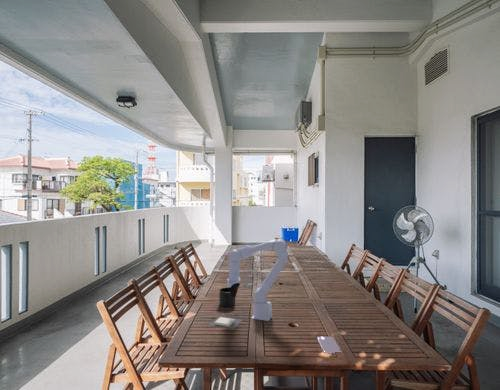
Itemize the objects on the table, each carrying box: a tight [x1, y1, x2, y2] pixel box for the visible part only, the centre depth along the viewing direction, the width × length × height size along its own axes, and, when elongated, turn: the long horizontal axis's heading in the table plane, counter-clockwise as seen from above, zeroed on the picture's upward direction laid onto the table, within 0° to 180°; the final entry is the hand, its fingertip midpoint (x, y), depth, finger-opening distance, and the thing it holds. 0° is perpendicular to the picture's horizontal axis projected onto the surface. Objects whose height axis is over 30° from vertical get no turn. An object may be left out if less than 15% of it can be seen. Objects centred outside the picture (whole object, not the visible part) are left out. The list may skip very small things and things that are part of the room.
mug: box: [218, 287, 236, 308], centre depth 196 cm, size 9×12×9 cm
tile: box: [215, 316, 235, 327], centre depth 170 cm, size 8×1×7 cm
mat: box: [208, 315, 243, 330], centre depth 171 cm, size 14×13×1 cm
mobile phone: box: [317, 336, 342, 354], centre depth 148 cm, size 8×1×15 cm
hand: (233, 296), depth 181 cm, fingers closed
